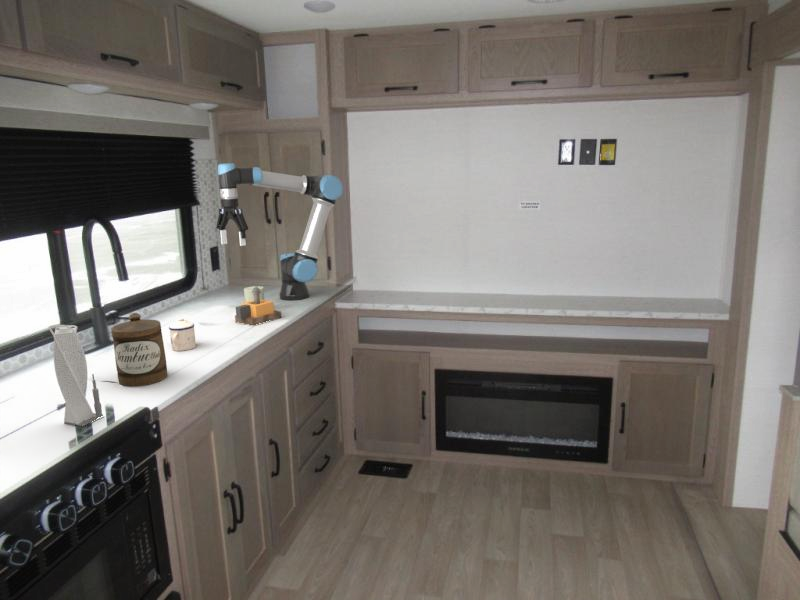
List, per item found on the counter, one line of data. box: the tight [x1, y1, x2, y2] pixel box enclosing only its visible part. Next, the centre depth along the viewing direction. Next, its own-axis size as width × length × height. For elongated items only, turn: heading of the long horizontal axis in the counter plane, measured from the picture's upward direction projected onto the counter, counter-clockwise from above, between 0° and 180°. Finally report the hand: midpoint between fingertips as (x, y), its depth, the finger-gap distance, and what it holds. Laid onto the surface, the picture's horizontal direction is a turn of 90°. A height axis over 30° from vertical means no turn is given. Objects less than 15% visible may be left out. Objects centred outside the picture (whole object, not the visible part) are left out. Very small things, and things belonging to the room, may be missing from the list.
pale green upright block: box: [243, 285, 265, 303], centre depth 277 cm, size 9×9×12 cm
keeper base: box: [234, 287, 282, 326], centre depth 262 cm, size 16×12×15 cm
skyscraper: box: [47, 324, 104, 428], centre depth 159 cm, size 8×8×28 cm
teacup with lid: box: [168, 317, 197, 352], centre depth 223 cm, size 12×9×12 cm
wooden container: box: [110, 312, 168, 387], centre depth 191 cm, size 15×15×22 cm
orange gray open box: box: [235, 299, 275, 319], centre depth 260 cm, size 16×10×5 cm, turn 143°
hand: (233, 244), depth 274 cm, fingers open, 13 cm apart
